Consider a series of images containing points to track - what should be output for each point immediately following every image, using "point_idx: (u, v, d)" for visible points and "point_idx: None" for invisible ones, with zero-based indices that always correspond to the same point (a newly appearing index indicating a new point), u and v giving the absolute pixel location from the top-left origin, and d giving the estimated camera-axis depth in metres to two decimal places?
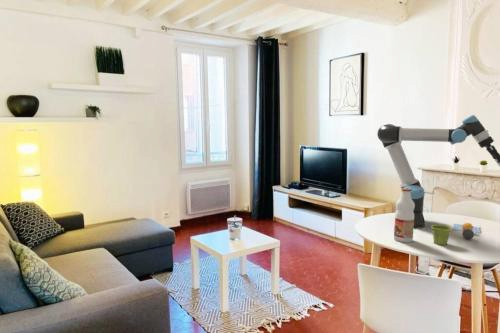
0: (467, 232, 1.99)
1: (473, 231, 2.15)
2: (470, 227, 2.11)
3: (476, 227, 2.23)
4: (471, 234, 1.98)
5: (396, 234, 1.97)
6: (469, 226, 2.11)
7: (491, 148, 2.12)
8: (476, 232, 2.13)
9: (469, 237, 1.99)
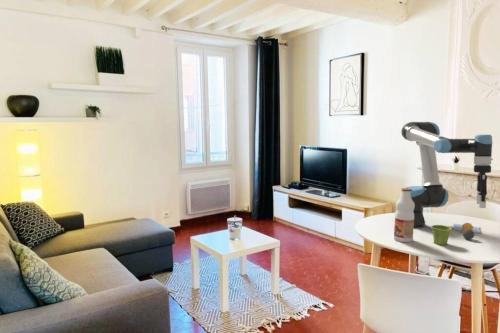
0: (467, 232, 1.99)
1: (473, 231, 2.15)
2: (470, 227, 2.11)
3: (476, 227, 2.23)
4: (471, 234, 1.98)
5: (396, 234, 1.97)
6: (469, 226, 2.11)
7: (483, 177, 1.84)
8: (476, 232, 2.13)
9: (469, 237, 1.99)
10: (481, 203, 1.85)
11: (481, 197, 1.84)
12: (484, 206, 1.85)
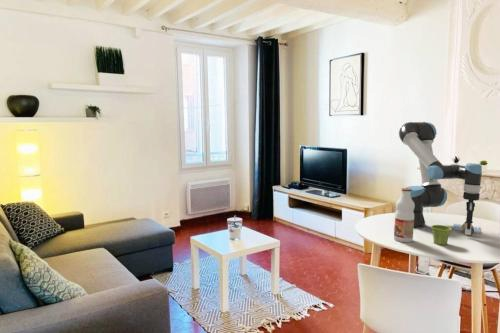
0: None
1: None
2: None
3: (476, 227, 2.23)
4: None
5: (396, 234, 1.97)
6: None
7: (470, 209, 1.97)
8: (476, 232, 2.13)
9: None
10: (467, 230, 2.03)
11: (467, 225, 2.02)
12: (469, 233, 2.03)
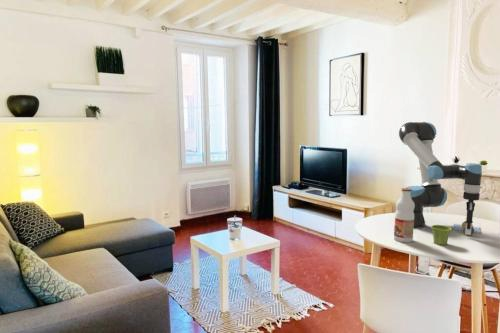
0: None
1: None
2: None
3: (476, 227, 2.23)
4: None
5: (396, 234, 1.97)
6: None
7: (470, 209, 1.97)
8: (476, 232, 2.13)
9: None
10: (467, 230, 2.03)
11: (467, 225, 2.02)
12: (469, 233, 2.03)
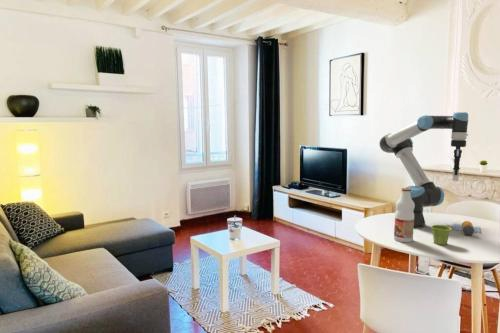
0: None
1: None
2: None
3: (476, 227, 2.23)
4: None
5: (396, 234, 1.97)
6: None
7: (457, 155, 2.07)
8: (476, 232, 2.13)
9: None
10: (454, 176, 2.13)
11: (454, 171, 2.12)
12: (457, 179, 2.13)
